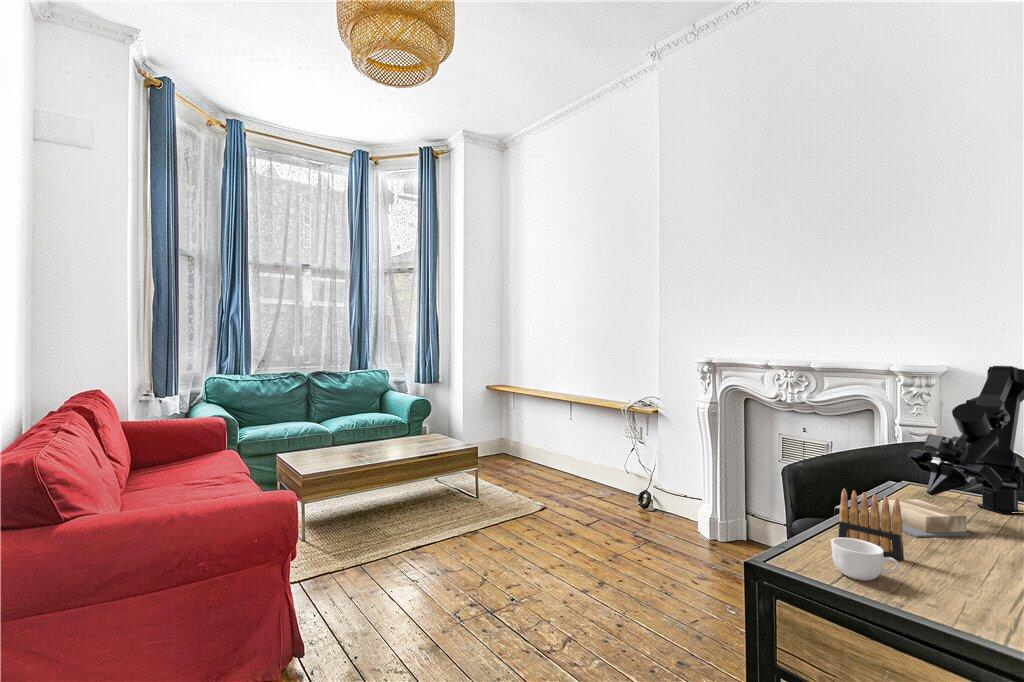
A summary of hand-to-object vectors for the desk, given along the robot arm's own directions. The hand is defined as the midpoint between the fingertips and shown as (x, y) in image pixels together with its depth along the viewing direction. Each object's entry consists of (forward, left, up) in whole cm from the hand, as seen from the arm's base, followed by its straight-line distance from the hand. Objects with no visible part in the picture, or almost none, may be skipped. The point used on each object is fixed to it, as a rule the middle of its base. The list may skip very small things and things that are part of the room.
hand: (929, 493), depth 116 cm
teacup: (+38, +24, -7) cm, 45 cm away
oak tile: (-3, 0, -5) cm, 6 cm away
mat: (+4, 0, -7) cm, 8 cm away
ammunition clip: (+28, +14, -7) cm, 32 cm away
